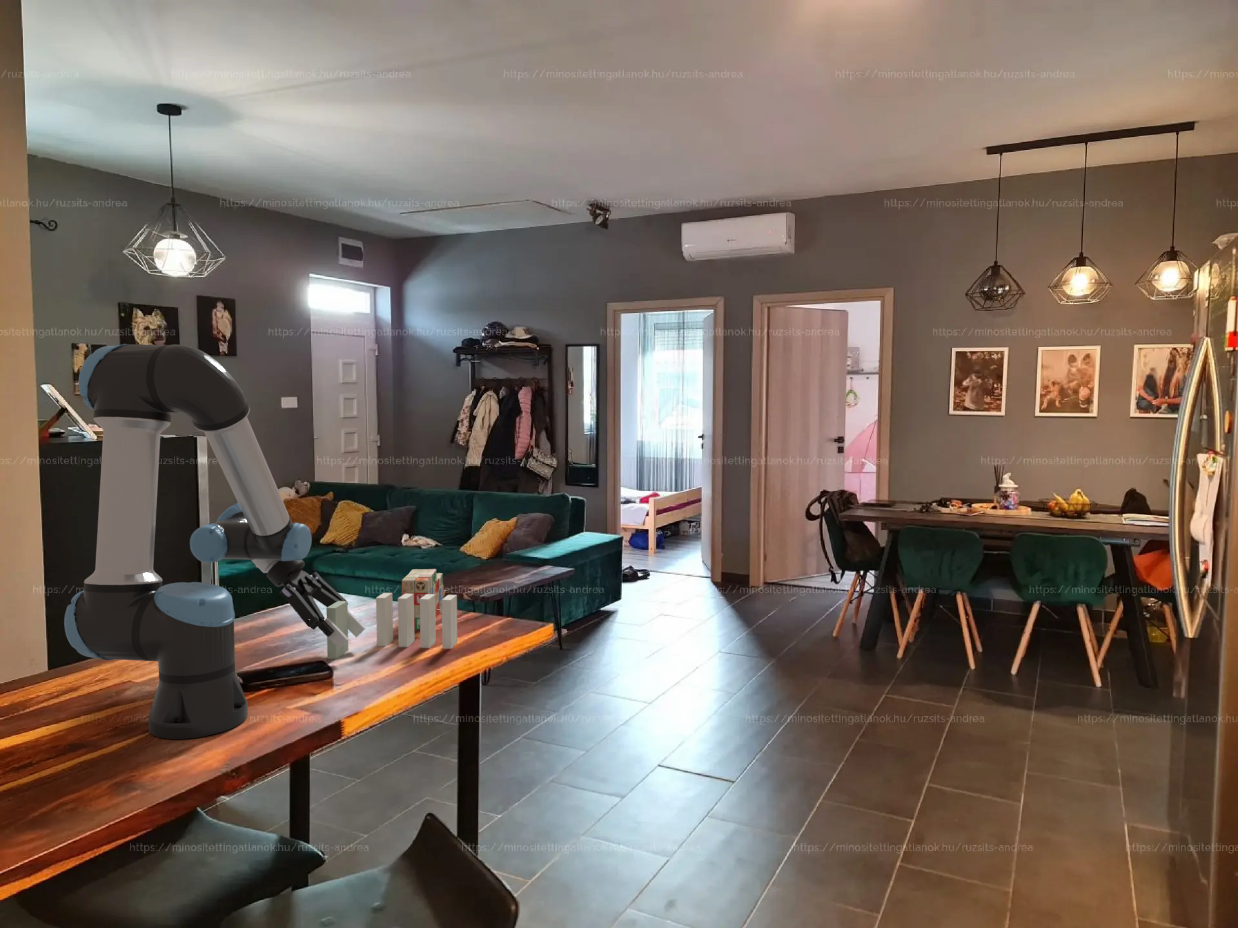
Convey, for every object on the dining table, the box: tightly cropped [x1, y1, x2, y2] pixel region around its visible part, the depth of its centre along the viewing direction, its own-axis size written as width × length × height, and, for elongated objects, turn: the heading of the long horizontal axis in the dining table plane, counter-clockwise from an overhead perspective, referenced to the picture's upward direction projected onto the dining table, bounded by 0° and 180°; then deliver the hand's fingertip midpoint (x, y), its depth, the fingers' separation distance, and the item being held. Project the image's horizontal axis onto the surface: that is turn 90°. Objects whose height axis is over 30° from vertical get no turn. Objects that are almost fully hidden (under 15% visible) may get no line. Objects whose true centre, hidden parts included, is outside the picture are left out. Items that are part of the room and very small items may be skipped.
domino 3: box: [419, 594, 437, 649], centre depth 187 cm, size 2×5×11 cm, turn 175°
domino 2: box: [397, 594, 415, 648], centre depth 188 cm, size 2×5×11 cm, turn 175°
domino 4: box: [441, 594, 458, 650], centre depth 187 cm, size 2×5×11 cm, turn 175°
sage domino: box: [325, 601, 349, 660], centre depth 180 cm, size 2×6×11 cm, turn 175°
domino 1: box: [375, 592, 394, 647], centre depth 188 cm, size 2×5×11 cm, turn 175°
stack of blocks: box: [401, 568, 445, 631], centre depth 210 cm, size 21×6×12 cm, turn 2°
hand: (352, 638), depth 180 cm, fingers open, 8 cm apart
